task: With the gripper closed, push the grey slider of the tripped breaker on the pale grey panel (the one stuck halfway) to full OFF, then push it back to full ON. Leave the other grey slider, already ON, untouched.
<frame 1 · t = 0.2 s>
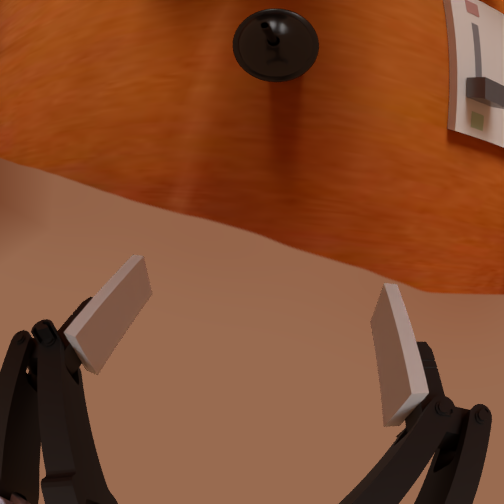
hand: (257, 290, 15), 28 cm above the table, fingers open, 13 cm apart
drinking cup: (286, 64, 31), on the table
on lever: (488, 93, 21), point 5 cm above the table, slide at 5.0 cm
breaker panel: (497, 74, 22), on the table
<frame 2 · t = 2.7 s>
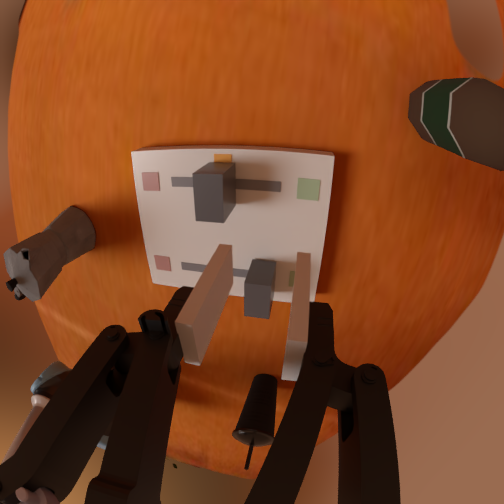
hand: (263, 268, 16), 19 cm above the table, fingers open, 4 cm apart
drinking cup: (265, 379, 53), on the table
on lever: (260, 288, 34), point 5 cm above the table, slide at 5.0 cm
coffeepot: (77, 232, 43), on the table
beer bottle: (433, 112, 24), on the table
tripped lever: (215, 190, 29), point 5 cm above the table, slide at 0.0 cm
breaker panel: (230, 222, 36), on the table
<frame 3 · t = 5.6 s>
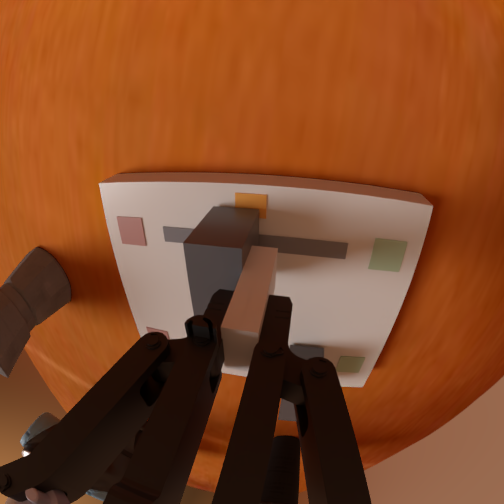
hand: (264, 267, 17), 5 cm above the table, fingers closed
drinking cup: (286, 439, 41), on the table
on lever: (301, 385, 22), point 5 cm above the table, slide at 5.0 cm
coffeepot: (49, 278, 31), on the table
tripped lever: (227, 262, 17), point 5 cm above the table, slide at -0.9 cm, touching gripper
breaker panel: (256, 289, 24), on the table
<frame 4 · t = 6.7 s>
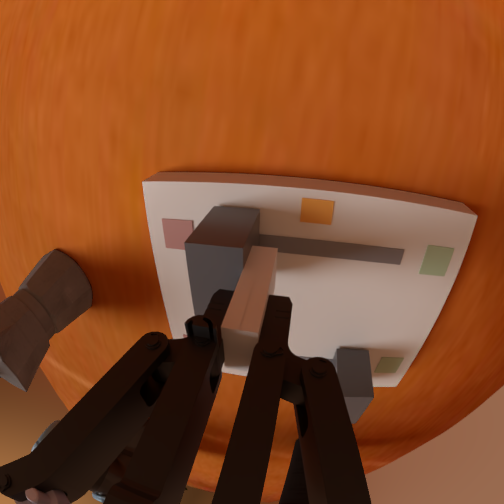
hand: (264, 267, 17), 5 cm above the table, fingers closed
drinking cup: (309, 440, 40), on the table
on lever: (346, 387, 21), point 5 cm above the table, slide at 5.0 cm
coffeepot: (66, 282, 30), on the table
tripped lever: (227, 261, 17), point 5 cm above the table, slide at -5.1 cm, touching gripper
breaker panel: (303, 293, 24), on the table
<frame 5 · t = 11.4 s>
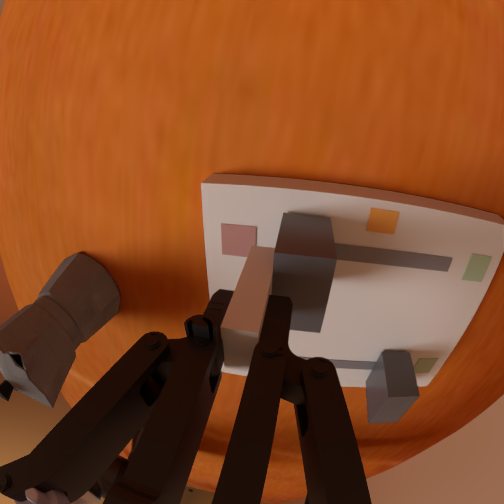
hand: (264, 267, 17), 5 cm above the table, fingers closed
on lever: (390, 388, 21), point 5 cm above the table, slide at 5.0 cm
coffeepot: (89, 287, 30), on the table
tripped lever: (301, 270, 16), point 5 cm above the table, slide at -5.0 cm, touching gripper
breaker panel: (352, 299, 23), on the table
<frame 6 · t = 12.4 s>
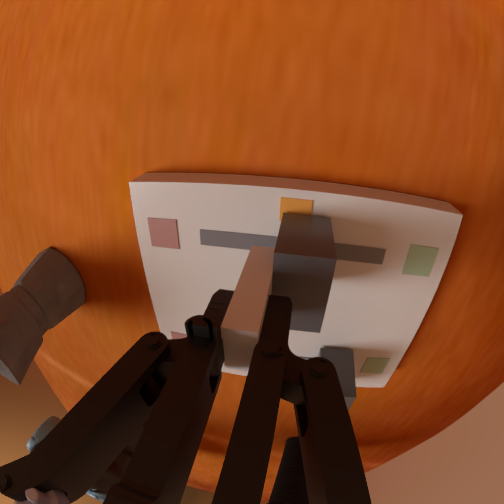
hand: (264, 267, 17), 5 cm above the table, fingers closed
drinking cup: (300, 440, 41), on the table
on lever: (330, 387, 22), point 5 cm above the table, slide at 5.0 cm
coffeepot: (61, 280, 31), on the table
tripped lever: (301, 270, 16), point 5 cm above the table, slide at 0.7 cm, touching gripper
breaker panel: (287, 292, 24), on the table
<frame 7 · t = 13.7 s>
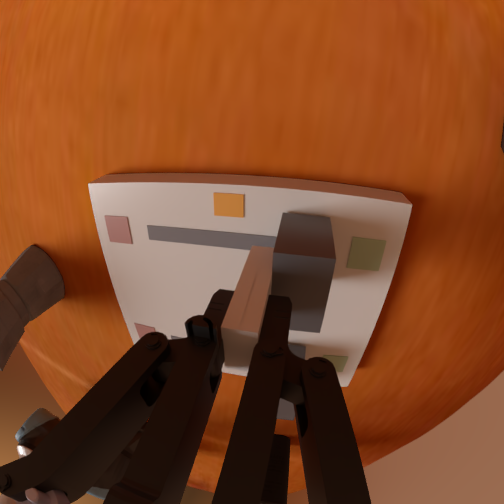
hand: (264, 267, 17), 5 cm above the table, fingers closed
drinking cup: (276, 438, 41), on the table
on lever: (283, 382, 22), point 5 cm above the table, slide at 5.0 cm
coffeepot: (43, 275, 31), on the table
tripped lever: (301, 270, 16), point 5 cm above the table, slide at 5.1 cm, touching gripper
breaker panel: (238, 287, 25), on the table
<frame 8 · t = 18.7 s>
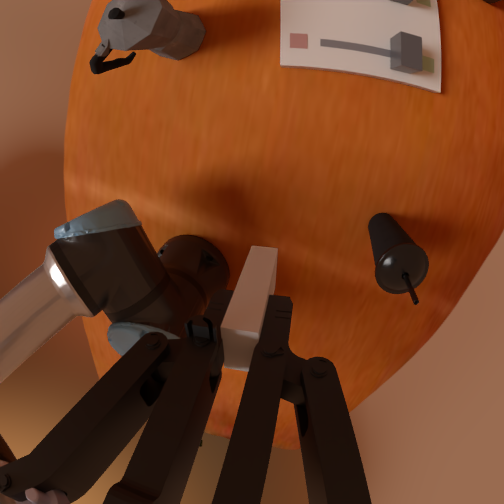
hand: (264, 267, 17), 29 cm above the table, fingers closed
drinking cup: (381, 225, 44), on the table
on lever: (405, 53, 25), point 5 cm above the table, slide at 5.0 cm
coffeepot: (175, 40, 34), on the table
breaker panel: (362, 18, 27), on the table
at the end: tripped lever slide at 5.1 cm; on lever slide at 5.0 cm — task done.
